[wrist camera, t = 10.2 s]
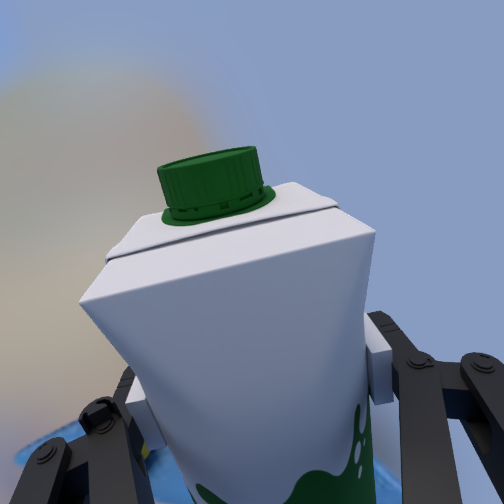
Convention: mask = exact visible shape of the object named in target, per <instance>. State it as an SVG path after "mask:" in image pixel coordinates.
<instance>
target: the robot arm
mask: <svg viewBox="0 0 504 504" xmlns="http://www.w3.org/2000/svg"><path fill="white" fill-rule="evenodd" d="M364 328H365V341H366V356H367V371H368V387H369V395H370V396H371V398H372V400H373V402H374V404H375V405H380V404H385V403H390V402H393V401H394V400H393V399H394V397H393V392H394V394H395V395H396V397H397V399H398V400H399V421H400V446H401V447H400V448H401V479H402V504H462V499H461V493H460V487H459V482H458V477H457V471H456V465H455V460H454V454H453V449H452V443H451V438H450V432H449V426H448V421H447V418H450V419H459V420H460V422H461V423H462V425H463V427H464V429H465V431H466V433H467V435H468V437H469V439H470V441H471V443H472V445H473V447H474V448H475V450H476V452H477V454H478V456H479V458H480V460H481V462H482V464H483V466H484V468H485V470H486V472H487V474H488V476H489V478H490V480H491V482H492V483H493V485H494V487H495V489H496V491H497V493H498V495H499V497H500V499H501V501H502V503H503V504H504V364H503V363H502V362H500V361H499V360H498V359H496V358H494V357H493V356H490V355H487V354H483V353H475V352H473V353H468V354H466V355H464V356H463V357H462V359H461V363H456V362H455V363H454V362H441V361H436V360H435V359H434V358H433V357H431V356H430V355H429V354H426V353H424V352H421V351H418V350H417V348H416V347H415V346H414V345H413V343H412V342H411V341H410V340H409V339H408V337H407V336H406V335H405V334H404V333H403V331H402V330H400V328H399V327H398V325H396V324H395V322H394V321H393V320H392V319H391V317H390V316H389V315H387V314H385V313H383V312H382V311H376V312H371V313H367V314H366V312H365V311H364ZM78 421H79V423H80V424H81V426H82V428H83V429H84V431H85V433H86V434H85V435H84V436H82V437H79V438H77V439H75V440H73V441H71V442H69V443H66V441H65V440H64V438H61V437H56V438H52V439H50V440H48V441H46V442H44V443H43V444H42V445H40V446H39V447H38V448H37V449H36V450H35V451H34V452H33V453H32V454H31V456H30V458H29V459H28V461H27V463H26V465H25V468H24V470H23V473H22V475H21V477H20V480H19V482H18V484H17V487H16V489H15V491H14V494H13V496H12V499H11V501H10V503H9V504H155V503H154V498H153V494H152V490H151V485H150V481H149V476H148V472H147V467H146V463H145V459H144V457H143V455H142V453H141V452H142V448H143V445H144V442H145V444H146V446H147V448H148V450H149V451H150V450H155V449H160V448H165V447H167V442H166V440H165V438H164V436H163V433H162V431H161V429H160V427H159V425H158V422H157V420H156V418H155V416H154V414H153V411H152V409H151V407H150V405H149V403H148V400H147V398H146V396H145V394H144V391H143V389H142V387H141V384H140V382H139V380H138V378H137V376H136V374H135V373H134V372H133V370H132V369H131V368H130V366H128V367H127V368H126V370H125V371H124V372H123V375H122V377H121V379H120V382H119V384H118V386H117V389H116V391H115V393H114V396H113V398H112V397H109V396H107V397H101V398H99V399H96V400H95V401H93V402H91V403H90V404H89V405H88V406H87V407H85V408H84V409H83V411H82V412H81V414H80V416H79V420H78Z"/></svg>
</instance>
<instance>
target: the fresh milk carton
mask: <svg viewBox="0 0 504 504" xmlns="http://www.w3.org/2000/svg"><path fill="white" fill-rule="evenodd" d="M157 173H158V176H159V180H160V183H161V186H162V190H163V193H164V196H165V200H166V204H167V206H168V207H170V208H167V209H165V210H164V212H159V213H154V214H149V215H145V216H142V217H141V218H139V220H138V221H137V222H136V223H135V224H134V226H133V227H132V228H131V229H130V230H129V232H128V233H127V234H126V235H125V236H124V238H123V239H122V240H121V241H120V243H119V244H117V245H115V246H114V247H113V248H112V249H111V250H110V252H109V253H108V254H107V256H106V258H105V262H106V266H105V267H104V269H103V270H102V271H101V272H100V274H99V275H98V277H97V278H96V279H95V280H94V282H93V283H92V284H91V286H90V287H89V289H88V290H87V291H86V292H85V294H84V295H83V296H82V298H81V299H80V300H79V302H78V303H79V304H80V306H81V307H82V308H83V309H84V310H85V311H86V313H87V314H88V315H89V316H90V318H91V319H92V320H93V322H94V323H95V324H96V325H97V327H98V328H99V329H100V330H101V331H102V333H103V334H104V335H105V336H106V338H107V339H108V340H109V341H110V343H111V344H112V345H113V346H114V347H115V349H116V350H117V351H118V352H119V354H120V355H121V356H122V358H123V359H124V360H125V361H126V362H127V364H128V365H129V366H130V368H131V369H132V370H133V372H134V373H135V374H136V376H137V378H138V380H139V382H140V384H141V387H142V389H143V391H144V394H145V396H146V398H147V400H148V403H149V405H150V407H151V409H152V411H153V414H154V416H155V418H156V420H157V422H158V425H159V427H160V429H161V431H162V433H163V436H164V438H165V440H166V442H167V444H168V447H169V449H170V451H171V453H172V455H173V458H174V460H175V462H176V464H177V466H178V469H179V471H180V473H181V475H182V477H183V480H184V482H185V484H186V486H187V488H188V491H189V493H190V495H191V497H192V499H193V501H194V504H376V493H375V480H374V468H373V449H372V435H371V418H370V404H369V387H368V371H367V356H366V341H365V328H364V308H365V300H366V294H367V286H368V280H369V272H370V266H371V259H372V253H373V246H374V240H375V234H376V231H375V230H373V229H372V228H371V227H369V226H367V225H366V224H364V223H362V222H360V221H359V220H357V219H355V218H353V217H352V216H350V215H348V214H346V213H345V212H343V211H341V209H340V206H339V204H338V203H337V202H335V201H333V200H332V199H330V198H328V197H322V196H320V195H319V194H317V193H315V192H313V191H311V190H309V189H307V188H305V187H303V186H301V185H300V184H297V183H295V182H290V183H285V184H282V185H278V186H275V187H270V186H264V187H263V184H264V182H263V180H262V175H261V170H260V165H259V160H258V155H257V149H256V147H255V146H247V147H238V148H232V149H226V150H221V151H216V152H211V153H207V154H202V155H198V156H194V157H189V158H186V159H182V160H178V161H174V162H171V163H168V164H165V165H162V166H160V167H158V168H157Z"/></svg>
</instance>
